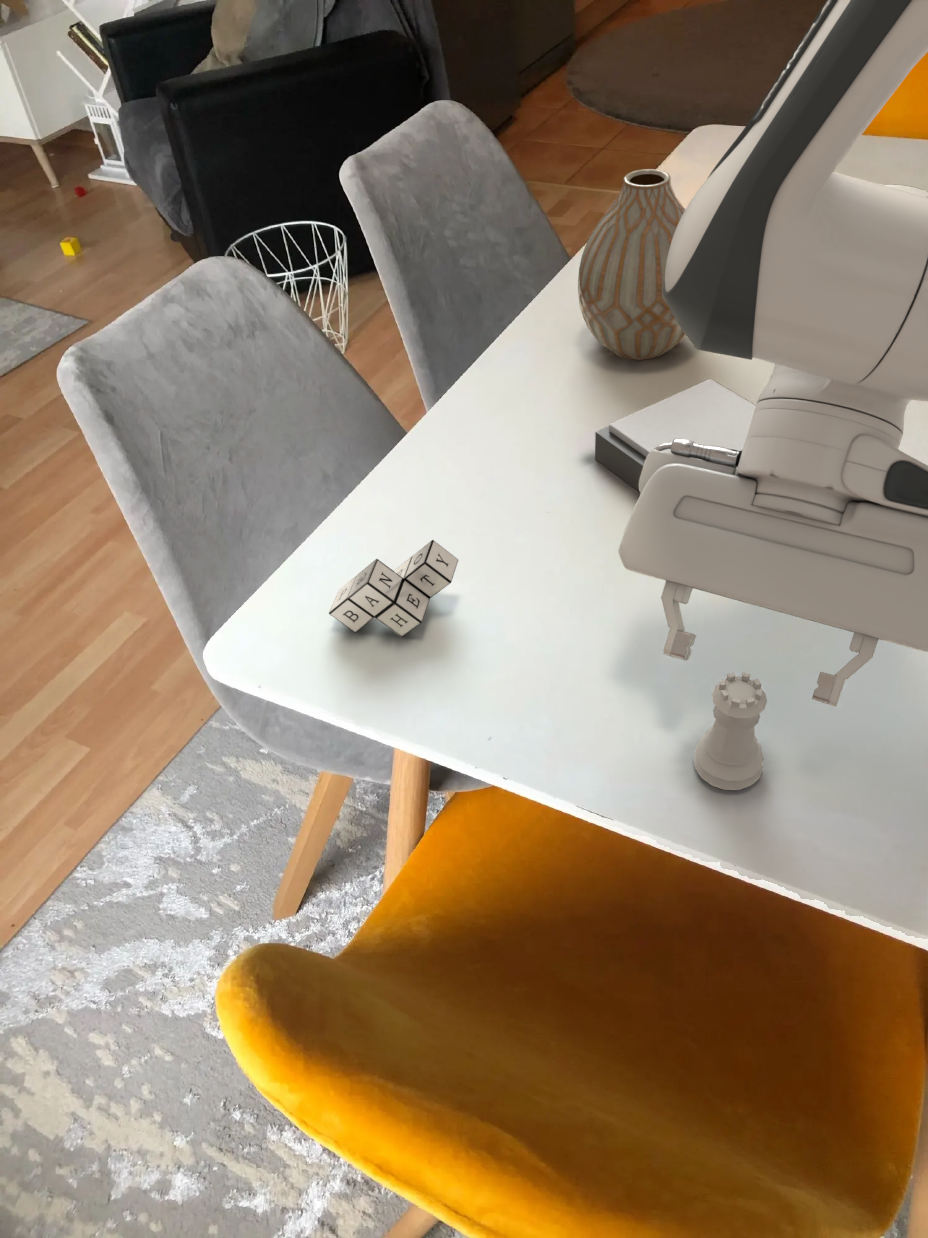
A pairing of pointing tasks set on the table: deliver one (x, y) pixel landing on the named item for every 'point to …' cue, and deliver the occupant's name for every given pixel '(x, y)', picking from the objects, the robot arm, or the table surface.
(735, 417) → the kitchen scale
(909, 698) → the table surface
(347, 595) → the building blocks
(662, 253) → the vase
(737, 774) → the rook chess piece
